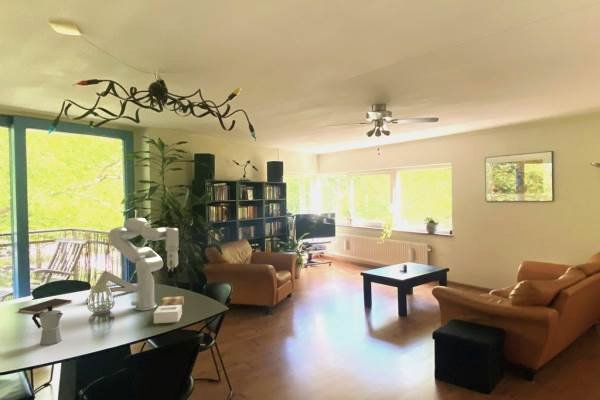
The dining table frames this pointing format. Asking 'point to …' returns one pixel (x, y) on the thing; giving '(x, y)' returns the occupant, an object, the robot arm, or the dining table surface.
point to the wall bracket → (124, 284)
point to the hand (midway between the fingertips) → (172, 275)
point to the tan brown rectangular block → (173, 301)
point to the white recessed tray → (168, 314)
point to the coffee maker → (49, 326)
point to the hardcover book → (45, 306)
